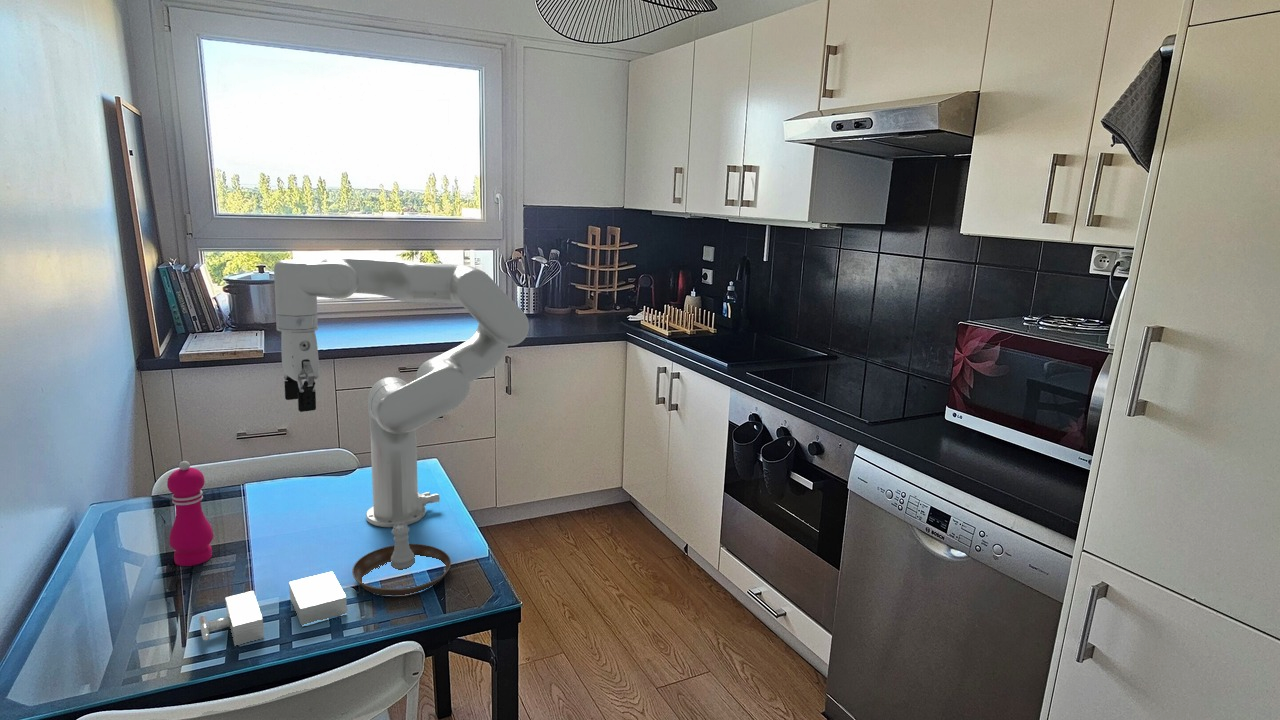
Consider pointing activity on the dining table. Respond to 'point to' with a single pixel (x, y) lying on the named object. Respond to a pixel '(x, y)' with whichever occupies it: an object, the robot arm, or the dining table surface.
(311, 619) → the bench vise
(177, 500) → the pepper mill
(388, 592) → the plant saucer
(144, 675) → the dining table surface
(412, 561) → the rook chess piece
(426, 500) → the robot arm
